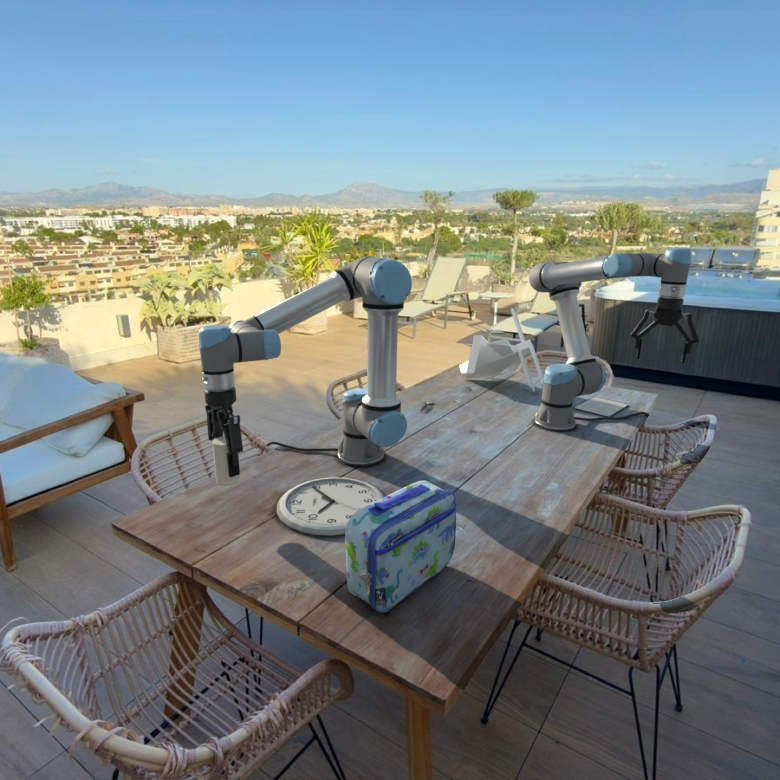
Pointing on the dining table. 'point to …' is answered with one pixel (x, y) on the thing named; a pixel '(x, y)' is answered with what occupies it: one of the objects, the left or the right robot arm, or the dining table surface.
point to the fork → (427, 403)
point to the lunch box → (399, 543)
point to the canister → (222, 463)
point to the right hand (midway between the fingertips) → (659, 360)
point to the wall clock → (325, 504)
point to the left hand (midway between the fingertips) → (227, 470)
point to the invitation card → (601, 406)
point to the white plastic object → (499, 356)
